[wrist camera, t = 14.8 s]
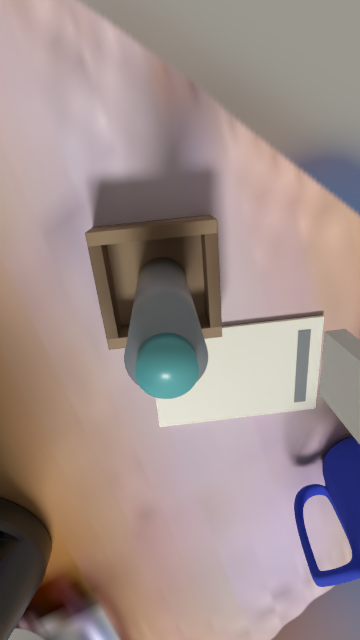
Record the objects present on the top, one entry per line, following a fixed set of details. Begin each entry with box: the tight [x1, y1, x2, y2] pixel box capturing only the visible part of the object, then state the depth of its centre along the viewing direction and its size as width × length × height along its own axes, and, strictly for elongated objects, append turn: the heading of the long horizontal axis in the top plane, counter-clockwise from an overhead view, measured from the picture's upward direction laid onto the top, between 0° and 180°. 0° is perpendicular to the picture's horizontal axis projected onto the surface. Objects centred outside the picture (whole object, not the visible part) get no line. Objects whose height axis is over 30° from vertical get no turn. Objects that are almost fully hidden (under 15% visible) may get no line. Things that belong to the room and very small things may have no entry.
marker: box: [124, 257, 208, 399], centre depth 18 cm, size 3×3×12 cm
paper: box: [156, 315, 324, 427], centre depth 27 cm, size 14×9×1 cm, turn 95°
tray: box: [85, 215, 222, 350], centre depth 23 cm, size 8×8×3 cm
